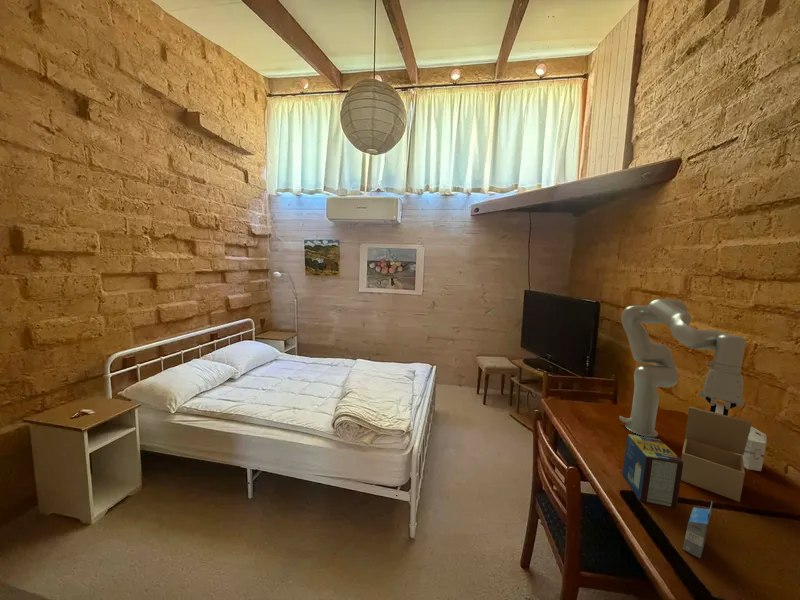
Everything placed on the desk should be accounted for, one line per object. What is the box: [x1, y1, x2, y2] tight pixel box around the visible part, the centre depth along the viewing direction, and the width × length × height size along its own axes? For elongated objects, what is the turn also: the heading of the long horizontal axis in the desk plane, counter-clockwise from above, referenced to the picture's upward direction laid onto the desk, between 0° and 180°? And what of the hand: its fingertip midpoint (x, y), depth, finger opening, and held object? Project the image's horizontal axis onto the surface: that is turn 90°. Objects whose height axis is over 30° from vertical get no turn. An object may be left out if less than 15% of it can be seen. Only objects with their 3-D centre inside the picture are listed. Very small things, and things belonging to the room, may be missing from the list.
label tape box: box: [682, 501, 713, 559], centre depth 92 cm, size 9×4×12 cm, turn 133°
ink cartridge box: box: [732, 425, 767, 472], centre depth 137 cm, size 9×5×15 cm, turn 168°
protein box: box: [621, 433, 684, 509], centre depth 116 cm, size 10×15×16 cm
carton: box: [680, 437, 746, 503], centre depth 124 cm, size 16×16×10 cm
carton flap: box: [684, 400, 753, 455], centre depth 128 cm, size 16×16×7 cm
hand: (718, 416), depth 127 cm, fingers closed on carton flap, 2 cm apart
